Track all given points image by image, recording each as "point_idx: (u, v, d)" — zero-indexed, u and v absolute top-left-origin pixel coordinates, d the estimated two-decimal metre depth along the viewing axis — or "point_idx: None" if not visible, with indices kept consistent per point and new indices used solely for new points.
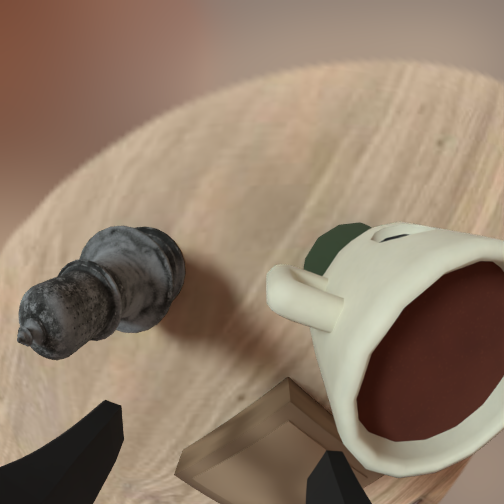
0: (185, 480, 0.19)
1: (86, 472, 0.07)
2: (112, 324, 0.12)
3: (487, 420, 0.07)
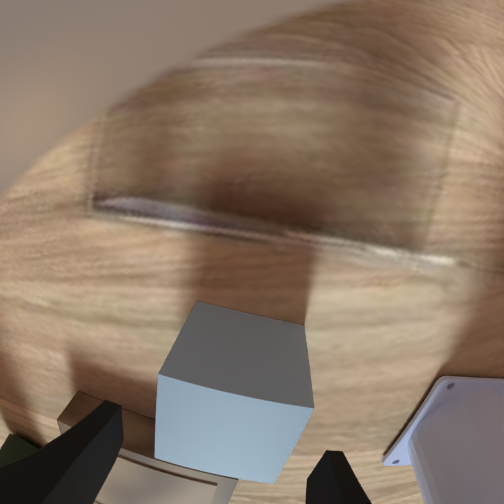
0: None
1: (86, 472, 0.07)
2: None
3: None
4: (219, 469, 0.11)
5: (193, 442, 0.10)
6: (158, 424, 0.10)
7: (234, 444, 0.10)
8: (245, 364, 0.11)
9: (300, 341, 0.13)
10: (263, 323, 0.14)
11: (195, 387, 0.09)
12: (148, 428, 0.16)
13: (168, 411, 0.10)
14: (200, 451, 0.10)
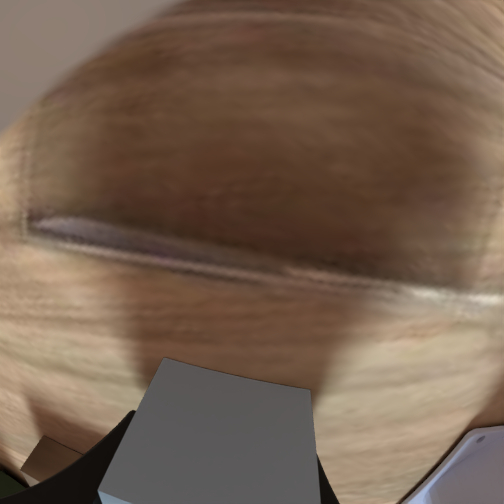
0: None
1: None
2: None
3: None
4: None
5: None
6: None
7: None
8: (225, 469, 0.06)
9: (305, 420, 0.09)
10: (254, 393, 0.09)
11: None
12: None
13: None
14: None
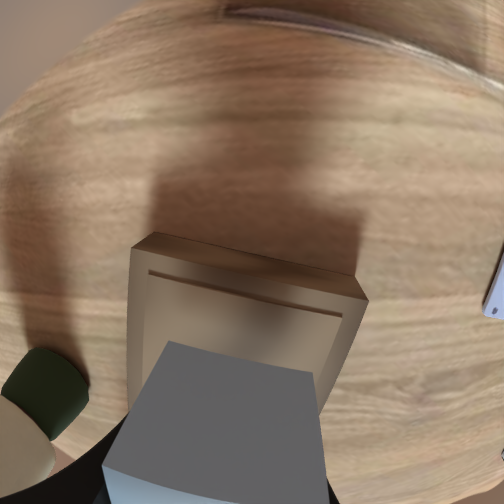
0: None
1: None
2: None
3: None
4: None
5: None
6: None
7: None
8: (231, 445, 0.07)
9: (308, 400, 0.09)
10: (257, 374, 0.10)
11: (156, 487, 0.05)
12: (249, 258, 0.16)
13: (126, 502, 0.06)
14: None
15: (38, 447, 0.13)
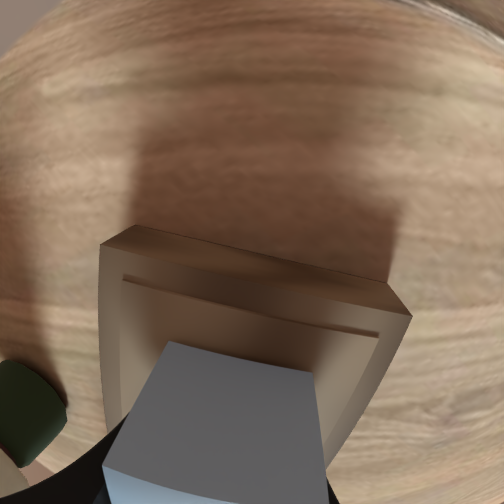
0: None
1: None
2: None
3: None
4: None
5: None
6: None
7: None
8: (230, 445, 0.07)
9: (308, 400, 0.09)
10: (257, 374, 0.10)
11: (156, 487, 0.05)
12: (257, 260, 0.12)
13: (126, 502, 0.06)
14: None
15: (6, 478, 0.09)
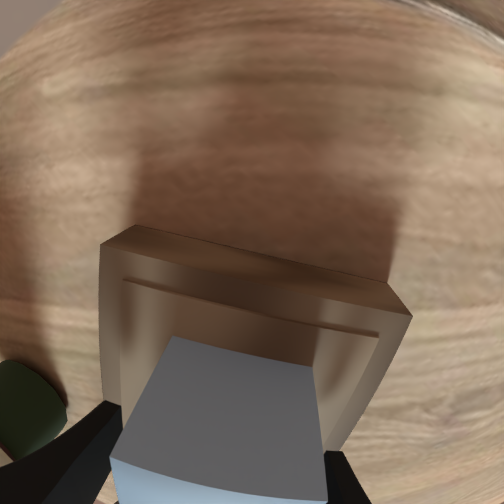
0: None
1: (86, 472, 0.07)
2: None
3: None
4: None
5: None
6: (122, 501, 0.06)
7: None
8: (233, 437, 0.07)
9: (308, 394, 0.09)
10: (259, 368, 0.10)
11: (162, 477, 0.05)
12: (257, 260, 0.12)
13: (131, 492, 0.06)
14: None
15: None
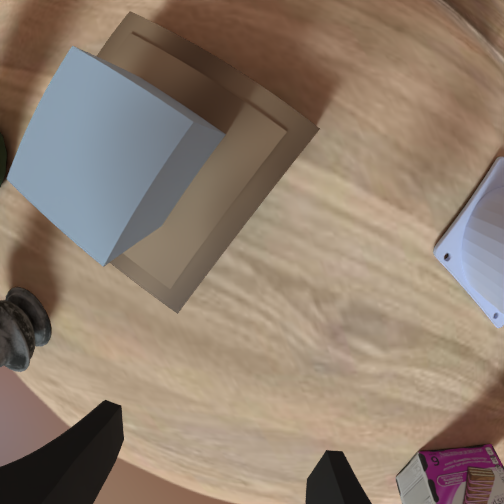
0: (184, 298, 0.15)
1: (86, 472, 0.07)
2: None
3: None
4: (56, 210, 0.09)
5: (50, 150, 0.08)
6: (34, 116, 0.08)
7: (88, 161, 0.08)
8: (149, 88, 0.09)
9: (214, 128, 0.11)
10: (187, 108, 0.12)
11: (94, 63, 0.07)
12: None
13: (53, 96, 0.08)
14: (52, 167, 0.08)
15: None
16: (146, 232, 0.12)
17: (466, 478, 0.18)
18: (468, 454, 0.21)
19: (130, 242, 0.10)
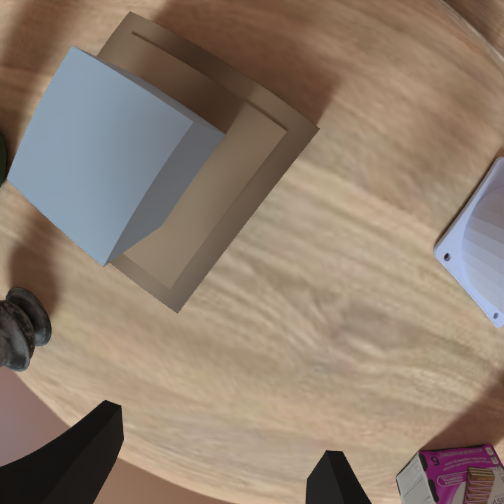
0: (184, 298, 0.15)
1: (86, 472, 0.07)
2: None
3: None
4: (56, 210, 0.09)
5: (51, 150, 0.08)
6: (34, 116, 0.08)
7: (88, 161, 0.08)
8: (149, 88, 0.09)
9: (214, 128, 0.11)
10: (187, 108, 0.12)
11: (94, 63, 0.07)
12: None
13: (53, 96, 0.08)
14: (52, 167, 0.08)
15: None
16: (146, 232, 0.12)
17: (466, 478, 0.18)
18: (468, 454, 0.21)
19: (130, 242, 0.10)
